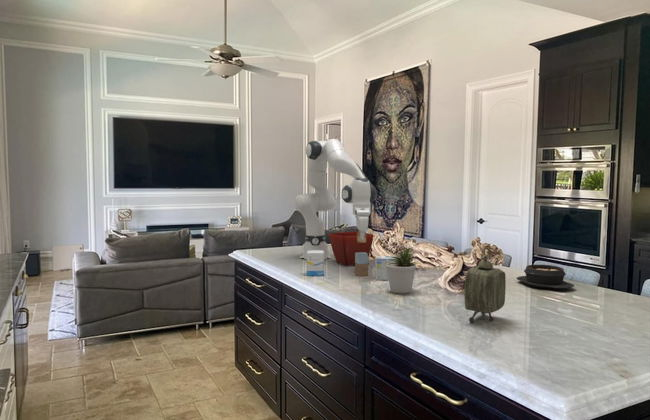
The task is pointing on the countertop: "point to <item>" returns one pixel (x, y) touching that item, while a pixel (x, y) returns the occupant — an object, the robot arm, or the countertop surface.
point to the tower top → (361, 258)
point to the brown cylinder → (361, 239)
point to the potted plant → (401, 272)
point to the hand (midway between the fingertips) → (361, 238)
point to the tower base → (361, 269)
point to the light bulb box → (382, 267)
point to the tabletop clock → (484, 288)
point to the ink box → (315, 263)
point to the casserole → (545, 277)
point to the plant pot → (349, 246)
